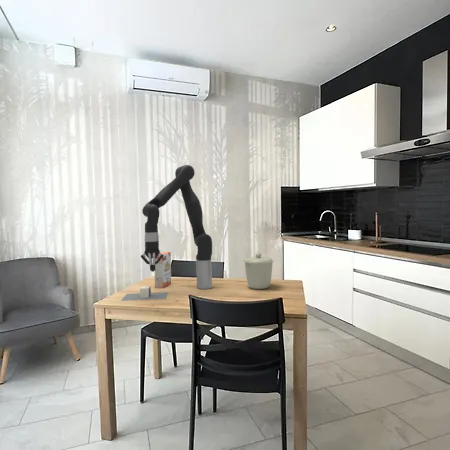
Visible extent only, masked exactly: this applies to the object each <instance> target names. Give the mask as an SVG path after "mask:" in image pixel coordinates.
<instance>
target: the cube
mask: <svg viewBox="0 0 450 450" xmlns="http://www.w3.org/2000/svg"><path fill="white" fill-rule="evenodd" d="M151 287H152V286H150V285H149V286H148V285H147V286H145V285H144V286H141V287H140V288H139V293H140V298H144V297H150V295H151V293H152V292H151V290H152V289H151Z"/></svg>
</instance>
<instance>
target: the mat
mask: <svg viewBox="0 0 450 450" xmlns="http://www.w3.org/2000/svg"><path fill="white" fill-rule="evenodd" d="M168 295H169V291H168V292H167V291H164V292H163V291H162V292H151V295H150V297H144V298H140V292H137V293H126V294H125V295H124V296H123V297H122V299H121V300H120V301H121V302H123V301H125V302H126V301H127V302H128V301H144V300H145V301H146V300H148V301H149V300H151V301H152V300H166V299H167V297H168Z"/></svg>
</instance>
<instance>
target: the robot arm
mask: <svg viewBox="0 0 450 450" xmlns="http://www.w3.org/2000/svg"><path fill="white" fill-rule="evenodd" d="M174 174H175V178H174V179H173V180H172V181H170V182H169V183H168V184H166V185H165V186H164V187H163V188H162V189H160V191H158V193H157V194H156V195H155V196H154V198H153V197H152V199H150V201H147V203H146V204H145V205H144V206H143V207H142V212H141V213H142V215H143V216H144V217H146V219H147V220H146V222H145V223H144V251H143V252H144V253H142V254H141V255H140V258H141V259H142V260H143V262H145V264H147V265H149V271H150V272H151V273H155V269H156V268H155V264H158V262H159V261H160V260H161V258H162V257H163V256H164V254H161V250H160V243H159V242H160V241H159V227H158V225H159V219H160V208H162V207H164V206H165V205H166V204H167V203H168V202H169V201H170V200H171V198H173V196H174V195H175V194H176V193H177V192H178V191H179V190H180V193H181V196H182V199H183V203H184V207H185V210H186V211H185V212H186V214H187V217H188V221H189V223H190V226H191V230H192V236H193V243H194V244H195V246H196V248H197V254H196V256H195V265H196V266H195V267H196V288H197V289H199V290H209V289H213V275H212V273H213V272H212V255H213V239H212V237H211V236H210V235H209V234H207V233H206V231H205V227H204V223H203V221H204V220H203V217H204V216H203V207H202V205H201V202H200V199H199V198H198V196H197V195H196V193H195V192H194V190H193V189H192V186H191V181H190V180H192V179H193V178H194V176H195V169H194V167H193V166H192V165H190V164H184V165H182V166H178V167H177V168H176V170H175V173H174ZM158 255H159V259H158V260H157V261H156V258H157V256H158ZM146 257H147V258H146Z"/></svg>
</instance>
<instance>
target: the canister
mask: <svg viewBox="0 0 450 450" xmlns="http://www.w3.org/2000/svg"><path fill="white" fill-rule="evenodd" d="M243 262H244V268H245V276H246V282H247V286H248V287H249V288H251V289H254V290H263V289H264V290H266V289H269V287H270V286H271V281H272V275H273V274H272V273H273V263H274V259H272V258H271V257H267V256H262V253H261V252H256V253H255V256H250V257H247V258H245V259H244V260H243Z"/></svg>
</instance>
